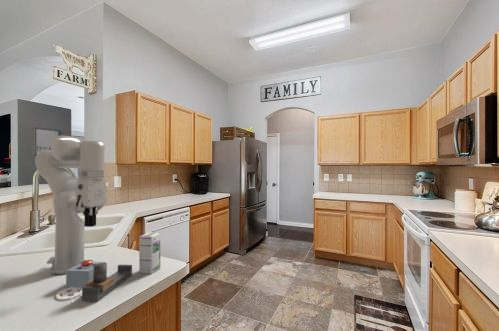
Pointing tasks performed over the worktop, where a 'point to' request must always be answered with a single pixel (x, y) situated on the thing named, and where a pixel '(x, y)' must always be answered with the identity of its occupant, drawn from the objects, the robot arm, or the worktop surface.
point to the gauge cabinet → (79, 276)
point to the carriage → (100, 277)
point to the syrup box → (149, 252)
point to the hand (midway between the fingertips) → (90, 225)
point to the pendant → (66, 295)
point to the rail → (119, 277)
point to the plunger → (86, 264)
